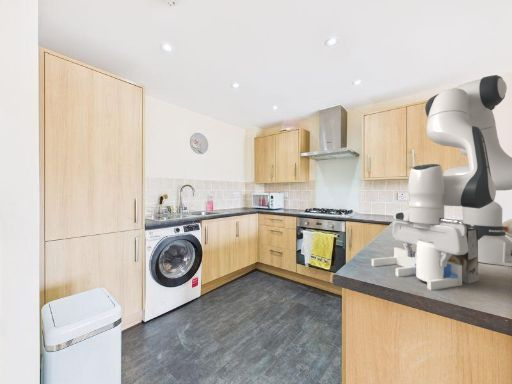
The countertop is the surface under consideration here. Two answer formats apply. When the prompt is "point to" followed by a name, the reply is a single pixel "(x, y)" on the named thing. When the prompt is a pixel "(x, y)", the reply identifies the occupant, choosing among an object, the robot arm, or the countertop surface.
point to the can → (428, 262)
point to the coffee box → (468, 257)
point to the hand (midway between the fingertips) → (425, 261)
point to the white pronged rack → (409, 268)
